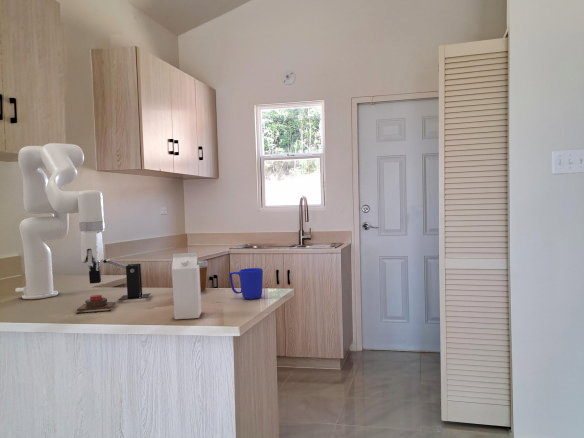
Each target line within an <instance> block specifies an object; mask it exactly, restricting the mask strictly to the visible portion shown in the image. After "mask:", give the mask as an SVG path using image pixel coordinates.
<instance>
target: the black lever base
mask: <svg viewBox="0 0 584 438" xmlns="http://www.w3.org/2000/svg"><path fill="white" fill-rule="evenodd" d="M125 275H126V276H125V277H126V278H125V279H126V292H127V293H126V294H123V295H121V296H120V298H119V299H118V301H128V300H138V299H140V300H141V299H149V297H150V296H151V292H150V293H149V292H148V293H143V281H142V263H128V264H127V265H126V269H125Z"/></svg>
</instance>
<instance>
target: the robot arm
mask: <svg viewBox="0 0 584 438" xmlns="http://www.w3.org/2000/svg"><path fill="white" fill-rule="evenodd" d="M84 160H85V155H84V151H83V149H82V148H81V147H80V146H79V145H77V144H73V143H58V142H49V143H46V144H43V145H26V146H24V147H21V149H19V152H18V154H17V161H18V167H19V169H20V172H21V175H22V181H23V182H22V183H23V193H22V194H23V208H24V211H25V212H26V213H28V214H31V215H32V214H34V215H39V214H40V215H41V214H43V215H44V214H53V215H51V216H50V215H49V216H32V217H26V218H24V219H22V221H20V223H19V227H18V228H19V234H20V238H21V243H22V250H23V260H24V262H23V263H24V274H25V276H24V277H25V285H24V286H23V287H15V289H14V291H15V293H16V294H22V293H23V294H22V295H21V298H22V299H23V300H39V299H46V298H52V297H55V296H58V295H59V290H54V276H53V261H52V260H53V259H52V258H53V257H52V251H51V249H50V247H49V246H48V245H47V243H45V241H54V240H63V239H65V238H66V237H67V236H68V234H69V227H70V225H69V224H70V223H69V222H70V219H69V217H70V214H78V226H79V234H81V238H80V254H81V255H80V260H81V263H82V264H87V267H88V277H89V284H90V285H91V284H100V283H101V282H102V275H101V274H102V273H101V261H103V260H104V242H103V232H105V219H104V218H105V217H104V201H103V193H102V191H100V190H97V189H86V190H61V188H63V187H65V186H67V185H69V184H72V183H73V182H74V181H75V180H76V179H77V176H78V170H77V168H79V167H81V166H82V165H83V163H84ZM43 169H46V170H47V171H48V174H49V175H50V177H49V179H48V176H47V173H46V172H45V171H44V170H43Z"/></svg>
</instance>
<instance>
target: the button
mask: <svg viewBox="0 0 584 438" xmlns="http://www.w3.org/2000/svg"><path fill="white" fill-rule="evenodd" d="M102 298H103V295H102V294H93V295H90V296H89V299H90V301H99V300H102Z"/></svg>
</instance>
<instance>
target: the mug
mask: <svg viewBox="0 0 584 438" xmlns="http://www.w3.org/2000/svg"><path fill="white" fill-rule="evenodd" d="M228 275H229V282H230V287H231V290H232V292H233V293H234V294H237V295H238V294H241V295H242V298H243V299H244V300H257V299H260V298H262V297H263V282H264V281H263V280H264V279H263V276H264V269H263V268H262V267H261V268H260V267H250V268H242V269H239V271H231V272H229V274H228ZM233 275H238V277H239V284H240V291H237V290H236V288H235V286H234V282H233Z"/></svg>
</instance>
